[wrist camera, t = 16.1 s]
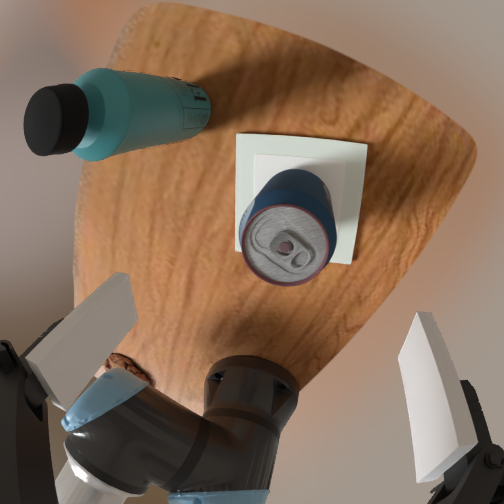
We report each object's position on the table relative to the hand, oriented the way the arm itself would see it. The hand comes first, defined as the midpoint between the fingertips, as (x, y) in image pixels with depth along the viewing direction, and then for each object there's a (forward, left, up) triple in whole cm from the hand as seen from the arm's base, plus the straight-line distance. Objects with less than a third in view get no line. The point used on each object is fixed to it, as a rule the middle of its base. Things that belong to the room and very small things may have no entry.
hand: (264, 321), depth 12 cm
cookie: (-36, +29, -21) cm, 51 cm away
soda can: (0, 0, -19) cm, 19 cm away
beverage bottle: (+9, +12, -20) cm, 25 cm away
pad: (0, 0, -20) cm, 20 cm away
